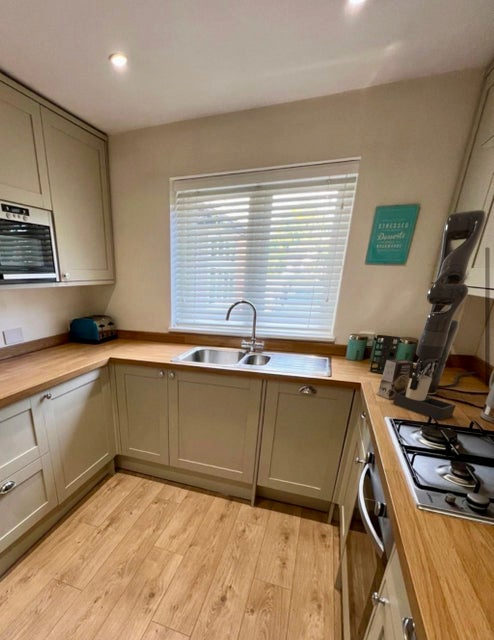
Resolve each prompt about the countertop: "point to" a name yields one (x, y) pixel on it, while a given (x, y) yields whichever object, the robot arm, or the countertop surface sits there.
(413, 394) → the cup
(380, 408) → the countertop surface
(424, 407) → the cup holder
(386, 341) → the holder
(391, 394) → the coffee box
